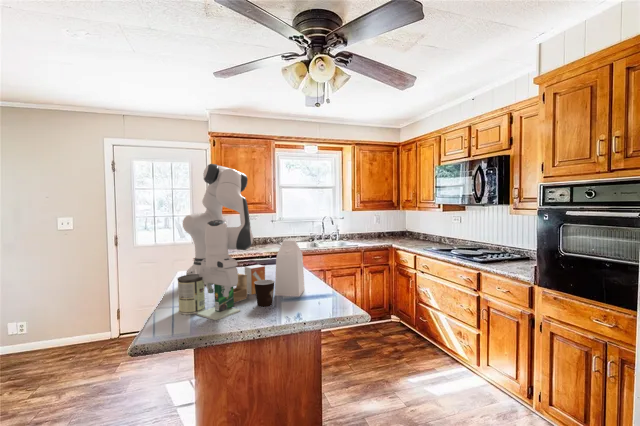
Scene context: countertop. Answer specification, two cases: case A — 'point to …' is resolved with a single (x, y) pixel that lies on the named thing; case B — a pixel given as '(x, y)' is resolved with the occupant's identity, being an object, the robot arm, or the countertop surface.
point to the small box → (254, 276)
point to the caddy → (240, 288)
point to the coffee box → (223, 298)
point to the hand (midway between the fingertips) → (218, 294)
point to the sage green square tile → (217, 313)
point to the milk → (289, 270)
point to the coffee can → (191, 294)
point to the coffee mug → (264, 292)
